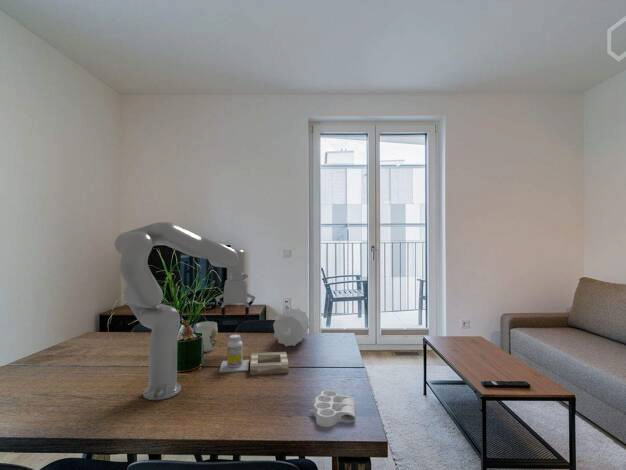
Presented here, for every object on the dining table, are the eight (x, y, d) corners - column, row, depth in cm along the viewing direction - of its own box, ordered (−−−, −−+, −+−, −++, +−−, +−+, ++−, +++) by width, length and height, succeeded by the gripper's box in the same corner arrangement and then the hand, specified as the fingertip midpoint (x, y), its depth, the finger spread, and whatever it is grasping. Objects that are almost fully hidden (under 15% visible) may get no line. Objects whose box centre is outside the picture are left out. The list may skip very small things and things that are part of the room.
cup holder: (288, 372, 139) (288, 364, 139) (250, 374, 136) (250, 366, 137) (286, 359, 155) (286, 351, 155) (251, 360, 152) (251, 353, 152)
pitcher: (225, 344, 176) (226, 318, 176) (207, 355, 159) (207, 327, 159) (207, 343, 179) (207, 317, 179) (187, 353, 161) (187, 325, 162)
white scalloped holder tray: (355, 430, 97) (306, 426, 99) (354, 401, 115) (313, 398, 117) (355, 418, 98) (306, 415, 99) (354, 391, 115) (313, 389, 117)
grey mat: (248, 371, 140) (248, 369, 140) (219, 372, 138) (219, 371, 139) (249, 361, 152) (249, 359, 152) (222, 362, 150) (222, 360, 150)
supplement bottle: (230, 362, 149) (231, 333, 149) (244, 362, 148) (245, 334, 148) (224, 367, 142) (224, 337, 143) (239, 368, 141) (239, 338, 142)
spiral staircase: (302, 342, 193) (295, 355, 169) (276, 328, 196) (265, 338, 171) (316, 314, 194) (310, 323, 169) (289, 301, 196) (280, 307, 171)
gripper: (255, 276, 151) (255, 313, 151) (216, 276, 149) (216, 314, 148) (255, 278, 144) (254, 317, 143) (214, 278, 141) (213, 318, 141)
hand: (235, 316), depth 146 cm, fingers open, 9 cm apart
